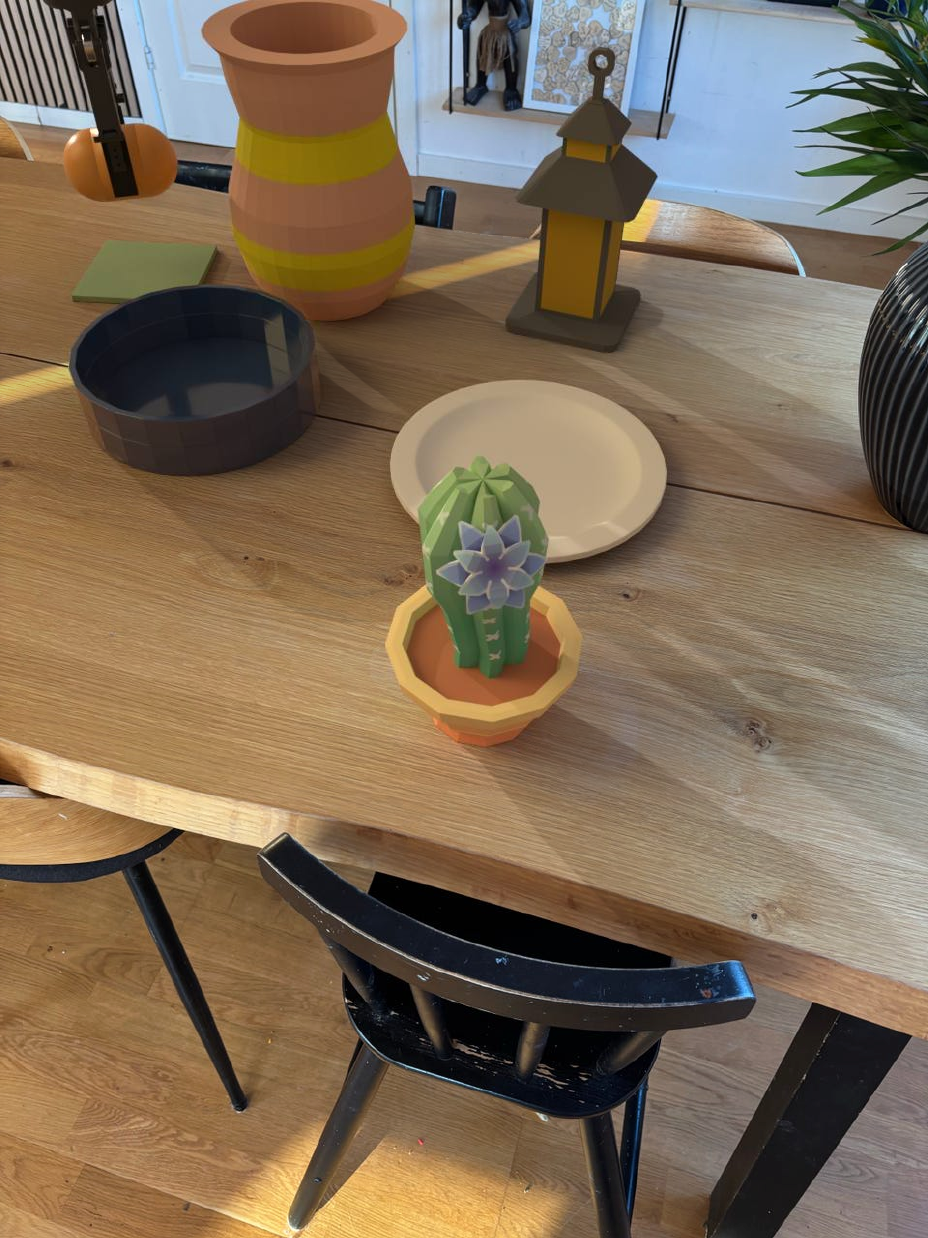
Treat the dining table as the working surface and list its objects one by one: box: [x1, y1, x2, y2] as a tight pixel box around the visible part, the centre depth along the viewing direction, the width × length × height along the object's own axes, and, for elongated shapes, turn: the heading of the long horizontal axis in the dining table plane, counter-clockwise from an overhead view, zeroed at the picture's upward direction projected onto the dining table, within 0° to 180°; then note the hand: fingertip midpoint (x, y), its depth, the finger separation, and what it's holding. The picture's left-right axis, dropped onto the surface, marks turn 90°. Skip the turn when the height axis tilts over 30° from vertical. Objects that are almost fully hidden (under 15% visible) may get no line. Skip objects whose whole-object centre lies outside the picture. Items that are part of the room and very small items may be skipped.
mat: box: [70, 239, 219, 304], centre depth 126 cm, size 15×14×1 cm
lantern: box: [505, 46, 659, 354], centre depth 111 cm, size 14×14×30 cm
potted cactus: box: [384, 456, 584, 748], centre depth 73 cm, size 15×15×25 cm
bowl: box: [67, 283, 322, 477], centre depth 106 cm, size 25×25×7 cm
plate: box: [389, 379, 668, 564], centre depth 100 cm, size 28×28×2 cm
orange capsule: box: [62, 122, 179, 203], centre depth 116 cm, size 13×8×8 cm, turn 106°
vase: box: [200, 0, 416, 322], centre depth 114 cm, size 22×22×30 cm
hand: (124, 178), depth 117 cm, fingers closed on orange capsule, 8 cm apart
